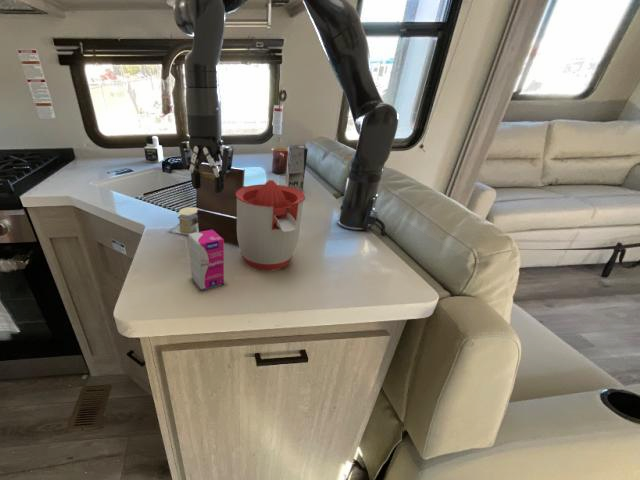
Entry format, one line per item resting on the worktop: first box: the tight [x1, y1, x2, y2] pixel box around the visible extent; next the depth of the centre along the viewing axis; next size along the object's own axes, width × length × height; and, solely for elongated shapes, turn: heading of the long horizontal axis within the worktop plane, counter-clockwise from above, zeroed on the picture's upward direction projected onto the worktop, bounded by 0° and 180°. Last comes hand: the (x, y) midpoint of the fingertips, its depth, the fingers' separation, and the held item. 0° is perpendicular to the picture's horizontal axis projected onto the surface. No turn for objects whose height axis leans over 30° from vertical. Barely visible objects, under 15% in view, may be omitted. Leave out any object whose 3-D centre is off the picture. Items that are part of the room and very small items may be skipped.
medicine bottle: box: [143, 135, 164, 164], centre depth 169 cm, size 7×7×12 cm
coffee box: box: [284, 144, 309, 192], centre depth 129 cm, size 9×6×16 cm
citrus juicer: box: [236, 179, 306, 271], centre depth 76 cm, size 16×17×20 cm
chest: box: [197, 209, 239, 247], centre depth 94 cm, size 11×14×8 cm
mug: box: [271, 146, 289, 174], centre depth 152 cm, size 12×9×10 cm
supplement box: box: [188, 230, 225, 292], centre depth 70 cm, size 6×6×12 cm
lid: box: [195, 162, 246, 217], centre depth 83 cm, size 12×14×5 cm
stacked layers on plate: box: [169, 206, 199, 236], centre depth 97 cm, size 10×9×6 cm
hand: (207, 189), depth 80 cm, fingers open, 6 cm apart
